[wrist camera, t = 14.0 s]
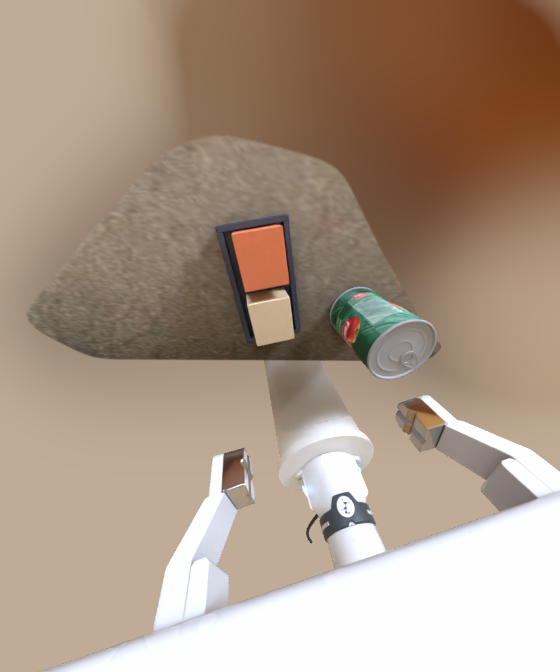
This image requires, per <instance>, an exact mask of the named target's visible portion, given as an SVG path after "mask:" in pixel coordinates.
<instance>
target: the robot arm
mask: <svg viewBox="0 0 560 672" xmlns="http://www.w3.org/2000/svg"><path fill="white" fill-rule="evenodd" d="M397 408H398V409H399V411H398V412H397V413H396V421H397V423H398V425H399V427H400V428H401V429H402V431H404V432H405V433H407V434H409V439H410V441H411V442H412V443H413V444H414V446H415V447H416V448H417V449H418V450H419V452H421V451H425V450H428V449H432V448H436V449H437V450H439V451H441V452H442V453H444V454H446V455H447V456H449V457H450V458H452V459H453V460H455V461H457V462H458V463H460V464H461V465H463V466H465V467H466V468H468V469H469V470H471V471H473V472H474V473H476V474H477V475H479V476H481V477H482V478H484V479H485V480H486V481H485V483H484V484H483V485H482V487H481V491H482V493H483V494H484V495H485V496H486V497H487V498H488V499H489V500H490V501H491V503H492V504H493V505H494V506H495V507H496V508H497V509H498V510H499V511H500V512H497V513H494V514H492V515H489V516H486V517H483V518H480V519H477V520H474V521H471V522H468V523H466V524H463V525H460V526H457V527H454V528H451V529H448V530H446V531H443V532H440V533H437V534H434V535H431V536H428V537H425V538H423V539H420V540H417V541H414V542H411V543H408V544H405V545H402V546H399V547H397V548H394V549H391V550H388V551H386V550H385V548H384V546H383V544H382V541H381V539H380V537H379V535H378V532H377V530H376V528H375V524H376V523H375V521H374V518H373V515H372V512H371V511H370V509H369V506H368V505H367V504H366V498H367V494H368V490H367V488H366V485H365V483H364V481H363V478H362V476H361V473H360V472H361V470H360V468H358V465H359V463H360V458H359V456H353V455H350V454H348V453H346V452H330V453H326V454H323V455H320V456H318V457H316V458H314V459H312V460H311V461H309V462H308V463H307V464H306V465H305V466H304V467H303V468H302V469H301V470H299V471H297V472H296V473H295V474H294V475H295V478H296V480H297V481H298V482H299V484H300V485H301V486H302V488H303V491H304V492H305V494H306V495H307V497H308V501H309V504H310V508H311V509H312V510H313V512H315V513H316V515H315V517H314V518H313V519H312V521H311V522H310V524H309V526H308V528H307V531H306V535H307V538H308V540H309V541H310V543H312V540H311V539H310V537H309V529H310V527H311V526H312V524H313V523H314V521H315V520H316V519H317V518H318V516H319V518H320V524H321V530H322V533H323V535H324V539H325V541H326V542H327V543H328V546H329V550H330V554H331V558H332V561H333V565H334V569H333V570H331V571H328V572H325V573H322V574H319V575H316V576H313V577H311V578H308V579H305V580H302V581H299V582H296V583H293V584H290V585H287V586H285V587H282V588H279V589H276V590H273V591H270V592H268V593H265V594H262V595H259V596H256V597H253V598H250V599H247V600H244V601H242V602H239V603H236V604H233V605H230V606H228V604H229V602H228V600H229V576H228V574H227V573H226V572H225V571H224V570H222V569H221V568H219V567H218V566H217V563H218V561H219V558H220V555H221V553H222V550H223V547H224V545H225V542H226V539H227V536H228V534H229V531H230V528H231V526H232V523H233V521H234V518H235V515H236V512H237V509H239V508H242V507H245V506H248V505H251V504H254V503H255V497H254V486H253V484H252V482H251V479H252V477H253V469H252V463H251V460H250V457H249V456H248V455H247V450H246V449H245V448H242V449H238V450H235V451H231V452H228V453H224V454H220V455H217V456H214V457H213V460H212V469H211V479H210V488H209V497H207V498H205V500H204V501H203V504H202V505H201V507H200V509H199V511H198V512H197V514H196V516H195V517H194V519H193V521H192V523H191V525H190V526H189V528H188V530H187V532H186V534H185V535H184V537H183V539H182V541H181V542H180V544H179V546H178V548H177V550H176V551H175V553H174V555H173V557H172V558H171V560H170V562H169V564H168V566H167V567H166V570H165V575H164V580H163V585H162V590H161V594H160V599H159V604H158V609H157V613H156V618H155V623H154V628H153V632H152V633H150V634H147V635H144V636H141V637H138V638H135V639H132V640H129V641H127V642H124V643H121V644H118V645H115V646H112V647H110V648H106V649H104V650H101V651H98V652H95V653H92V654H89V655H86V656H84V657H81V658H78V659H75V660H72V661H69V662H66V663H63V664H61V665H58V666H55V667H52V668H49V669H46V670H44V671H41V672H560V472H559V471H558V470H556V469H555V468H554V467H552V466H551V465H550V464H549V463H547V462H546V461H544V460H543V459H542V458H541V457H539V456H538V455H537V454H536V453H534V452H533V451H532V450H530V449H527V448H525V447H522V446H520V445H518V444H515V443H513V442H511V441H508V440H506V439H503V438H501V437H499V436H496V435H494V434H492V433H489V432H487V431H485V430H482V429H480V428H477V427H475V426H473V425H470V424H468V423H466V422H463V421H457V420H456V419H455V418H454V417H453V416H452V415H451V414H449V413H448V412H447V411H446V410H445V409H444V408H443V407H441V406H440V405H439V404H438V403H437V402H436V401H435V400H433V399H432V398H431V397H430V396H427V395H425V396H421V397H418V398H414V399H411V400H408V401H404V402H401V403H399V404H398V407H397Z"/></svg>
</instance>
